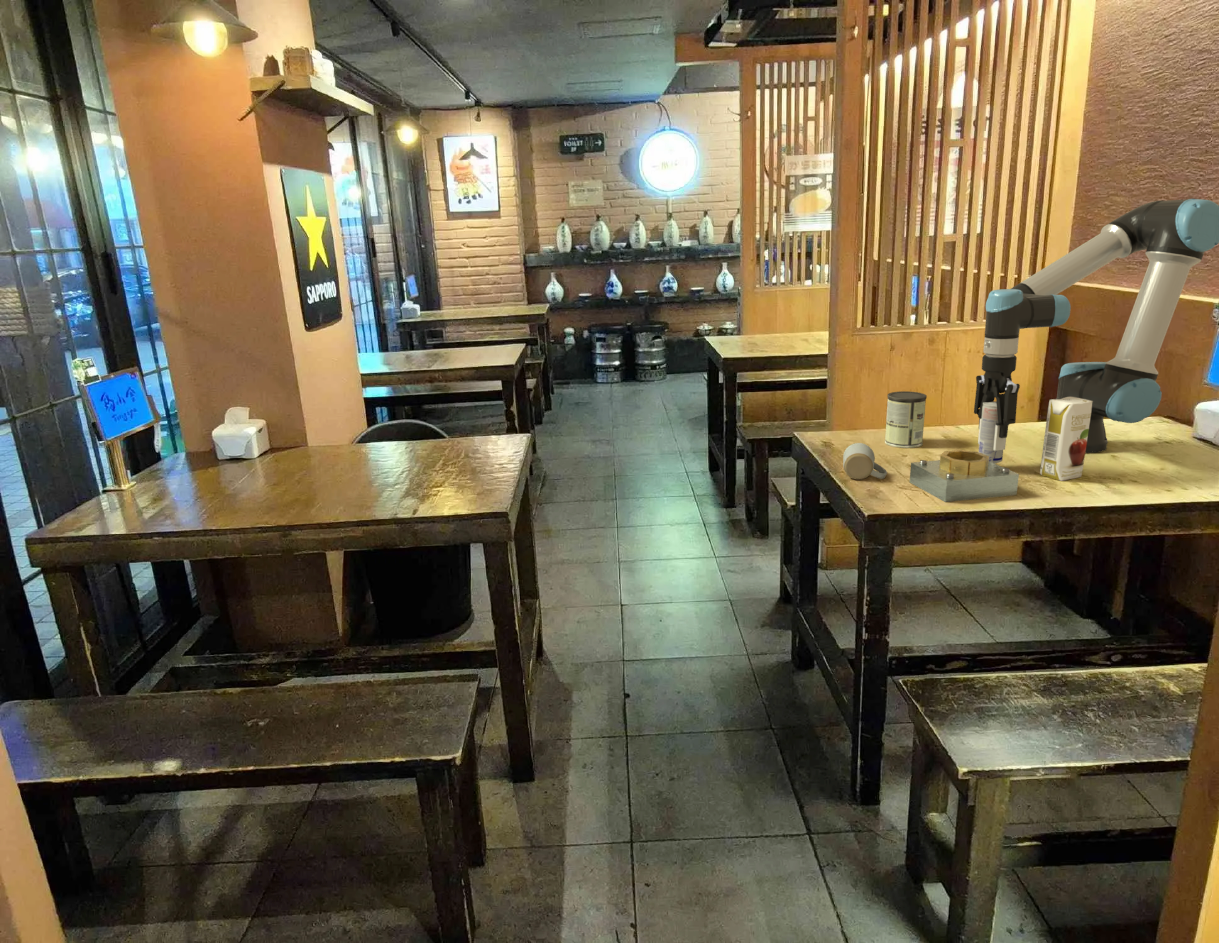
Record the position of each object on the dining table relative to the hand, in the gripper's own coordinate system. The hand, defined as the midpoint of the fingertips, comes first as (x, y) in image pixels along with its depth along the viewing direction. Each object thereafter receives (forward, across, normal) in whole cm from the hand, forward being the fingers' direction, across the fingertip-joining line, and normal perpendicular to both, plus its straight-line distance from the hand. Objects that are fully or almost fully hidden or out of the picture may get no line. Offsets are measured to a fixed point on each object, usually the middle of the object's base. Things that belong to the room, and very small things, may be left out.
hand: (991, 446), depth 203 cm
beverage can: (+4, 0, 0) cm, 4 cm away
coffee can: (+6, -28, -8) cm, 30 cm away
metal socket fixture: (+6, +12, -16) cm, 20 cm away
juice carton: (+6, +10, +12) cm, 17 cm away
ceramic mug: (+6, -4, -33) cm, 33 cm away
